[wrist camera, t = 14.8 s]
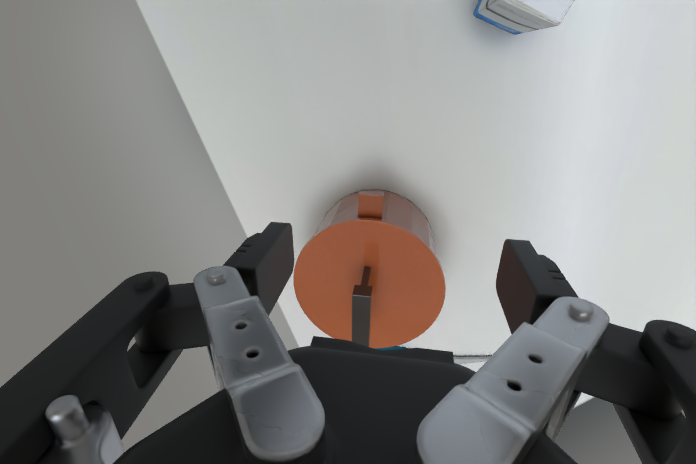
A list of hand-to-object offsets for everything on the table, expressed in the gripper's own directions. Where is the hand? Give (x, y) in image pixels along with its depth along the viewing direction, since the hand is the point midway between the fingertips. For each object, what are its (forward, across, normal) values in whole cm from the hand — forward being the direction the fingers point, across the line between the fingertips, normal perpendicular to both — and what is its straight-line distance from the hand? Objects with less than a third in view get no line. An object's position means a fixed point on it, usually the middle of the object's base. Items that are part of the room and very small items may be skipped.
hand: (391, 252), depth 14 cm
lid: (+20, +3, +15) cm, 25 cm away
